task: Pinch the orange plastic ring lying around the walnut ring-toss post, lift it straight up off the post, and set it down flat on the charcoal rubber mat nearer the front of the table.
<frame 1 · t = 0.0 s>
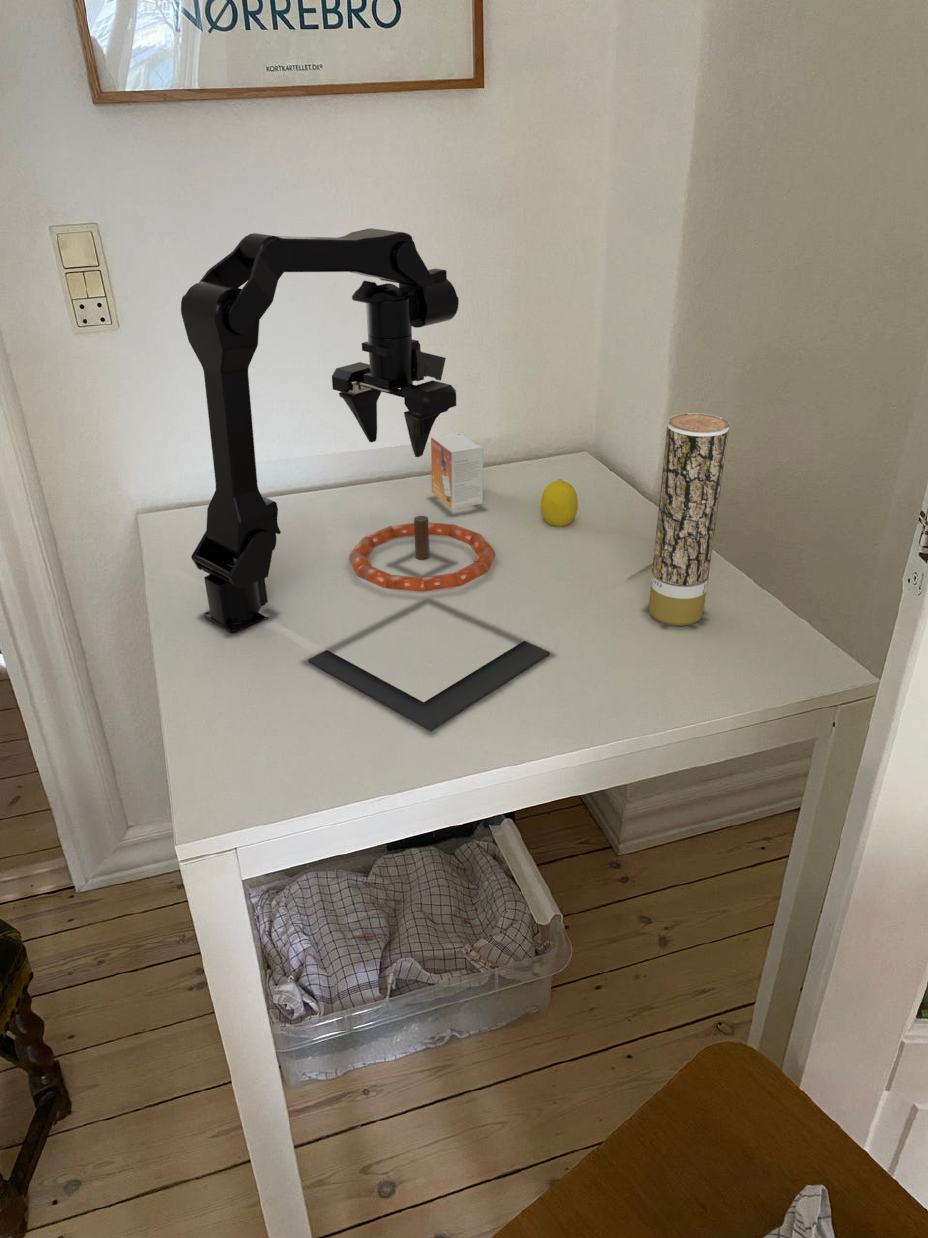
hand: (395, 448, 128), 15 cm above the table, tool pointing down, fingers open, 9 cm apart
small box: (457, 505, 148), on the table
paper tube: (674, 616, 116), on the table
ring toss: (422, 564, 129), on the table
lemon: (557, 530, 139), on the table
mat: (429, 658, 108), on the table
ring: (422, 556, 129), point 1 cm above the table
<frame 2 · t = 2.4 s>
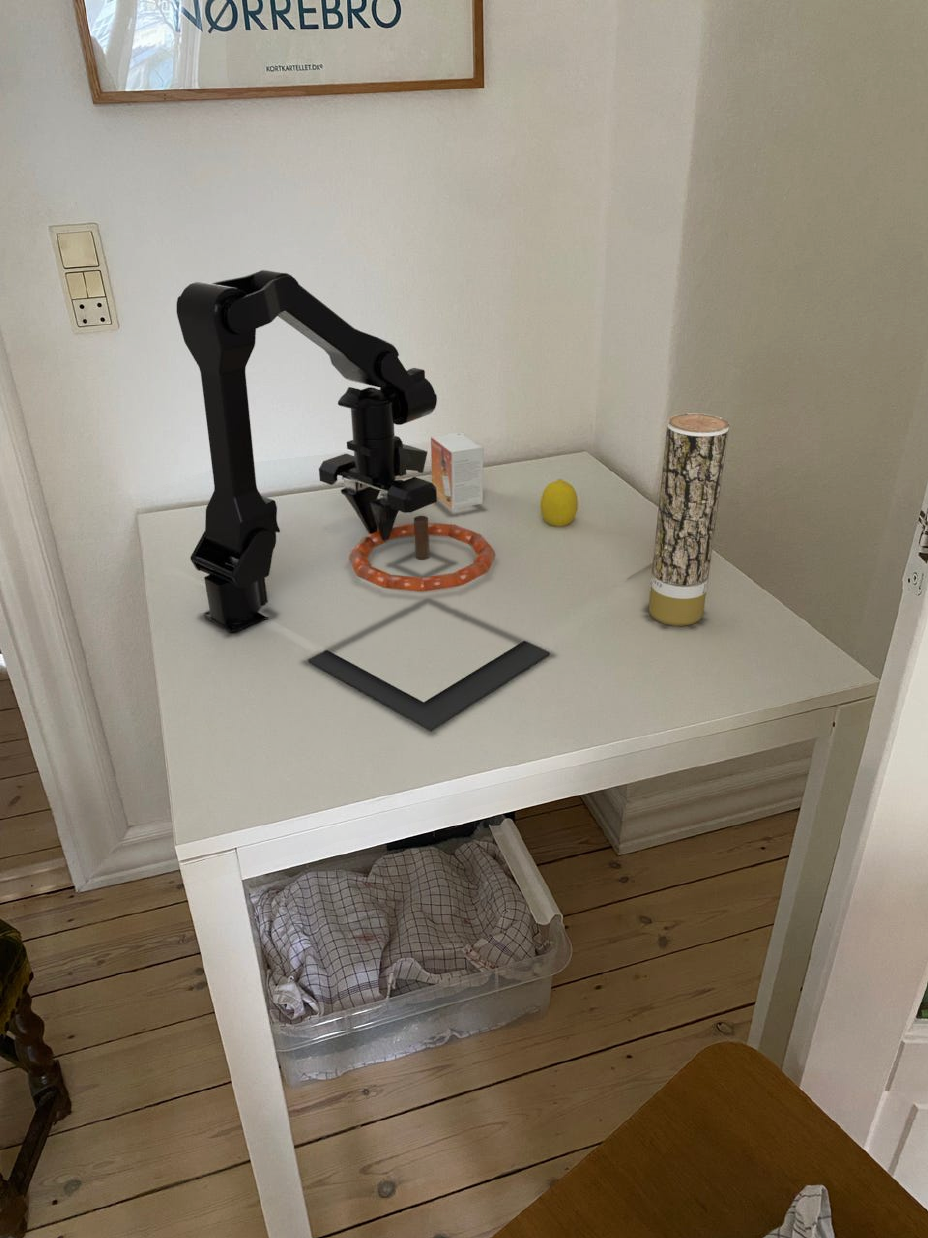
hand: (379, 537, 134), 2 cm above the table, tool pointing down, fingers closed on ring, 2 cm apart
ring: (422, 556, 129), point 1 cm above the table, touching gripper
everything else where it was.
when the fingers open (3 cm above the table, at t = 7.8 s): ring stays where it is, resting on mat.
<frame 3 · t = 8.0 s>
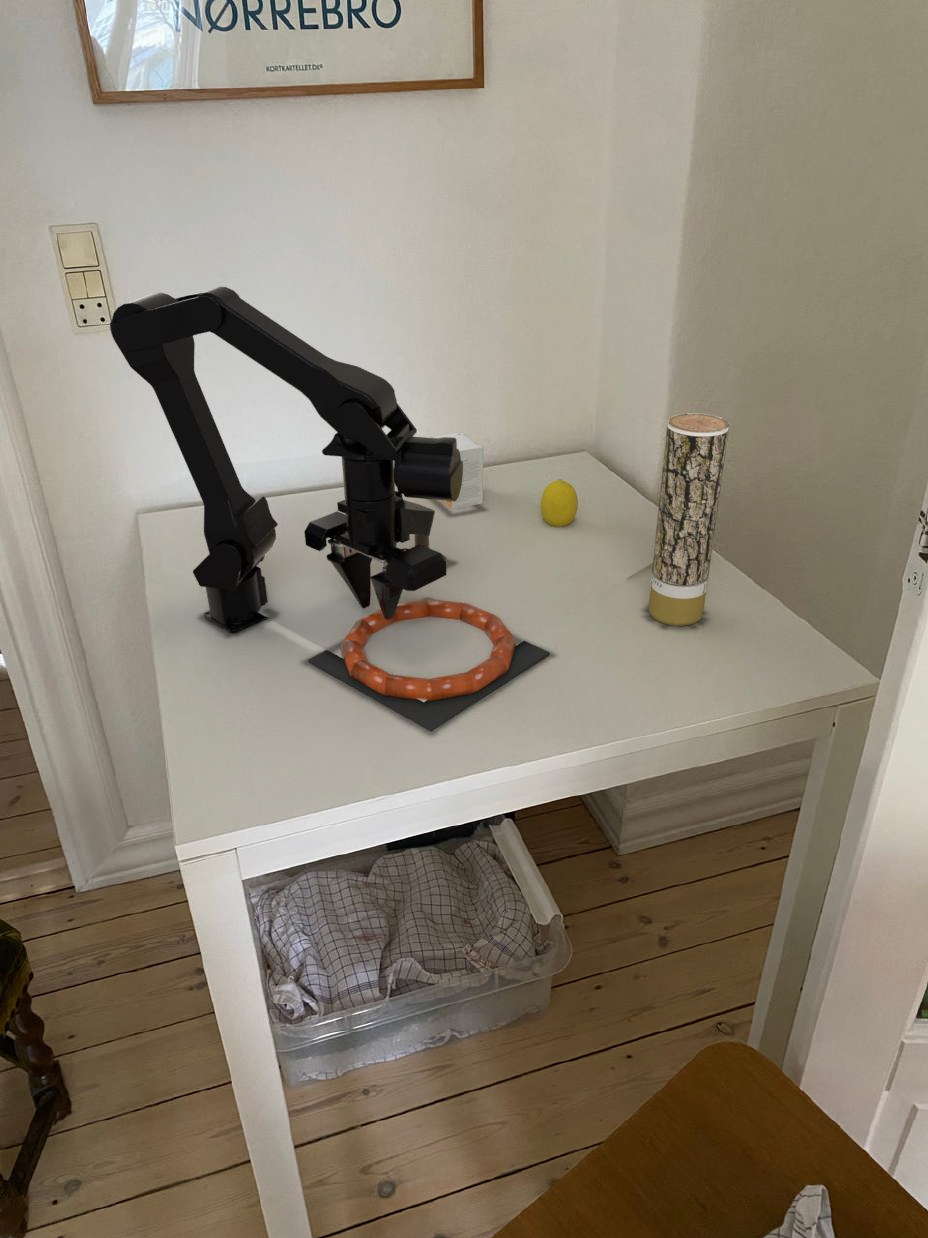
hand: (377, 612, 112), 3 cm above the table, tool pointing down, fingers open, 4 cm apart
ring: (428, 646, 107), point 2 cm above the table, touching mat
everything else where it was.
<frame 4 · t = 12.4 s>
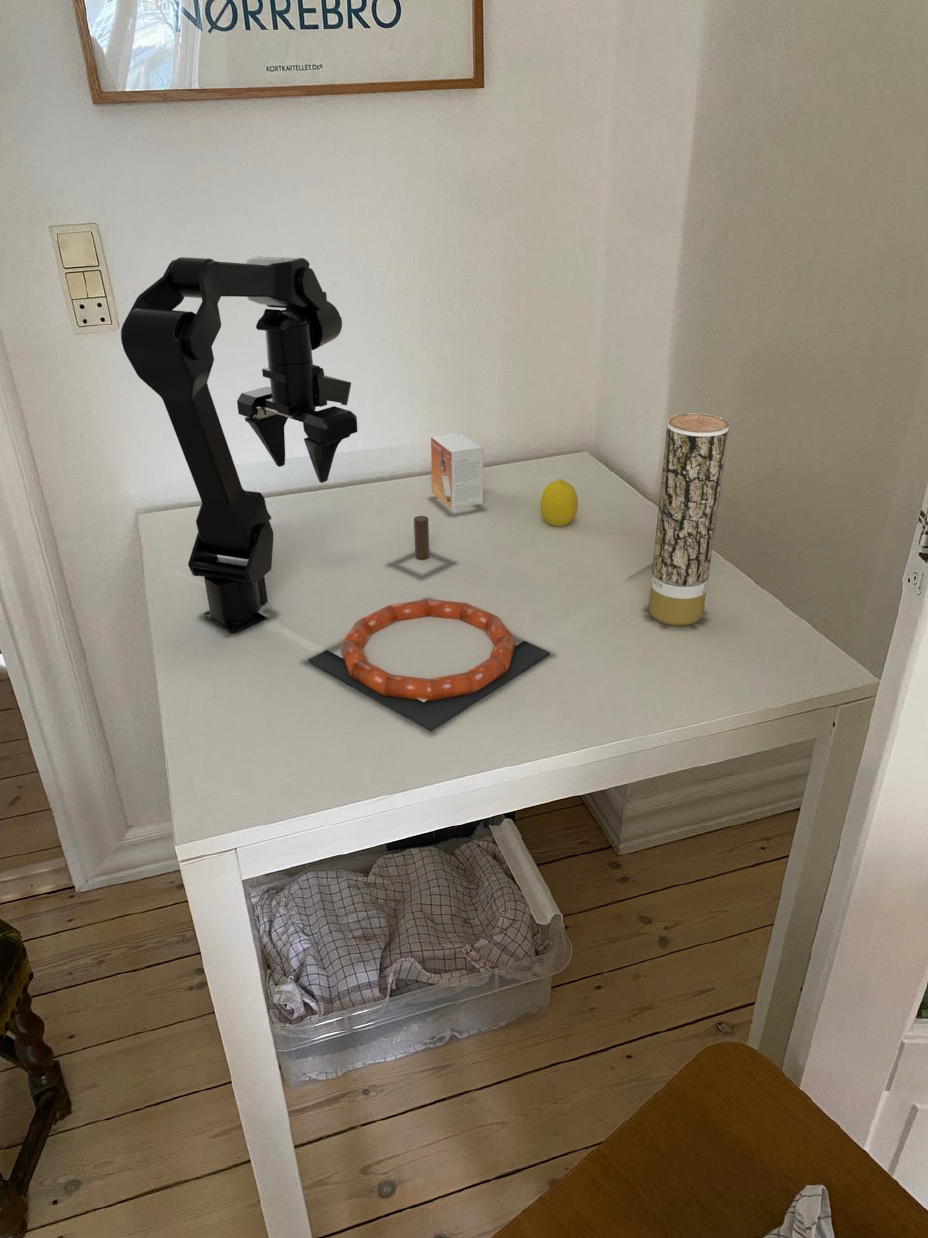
hand: (301, 473, 127), 12 cm above the table, tool pointing down, fingers open, 9 cm apart
nothing on the table moved.
at the end: ring inside the target area on the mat (0.1 cm from its centre), point 1.6 cm above the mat's base; ring moved 24.6 cm from its start; the gripper is holding nothing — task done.
